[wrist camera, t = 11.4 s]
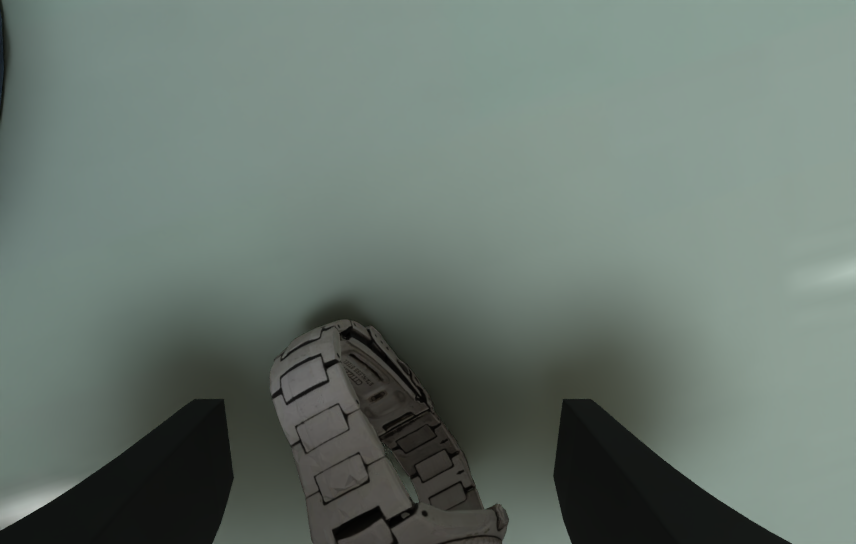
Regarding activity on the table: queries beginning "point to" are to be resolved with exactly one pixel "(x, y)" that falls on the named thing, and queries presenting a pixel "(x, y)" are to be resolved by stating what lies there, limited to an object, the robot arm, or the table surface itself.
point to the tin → (1, 58)
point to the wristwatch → (373, 445)
